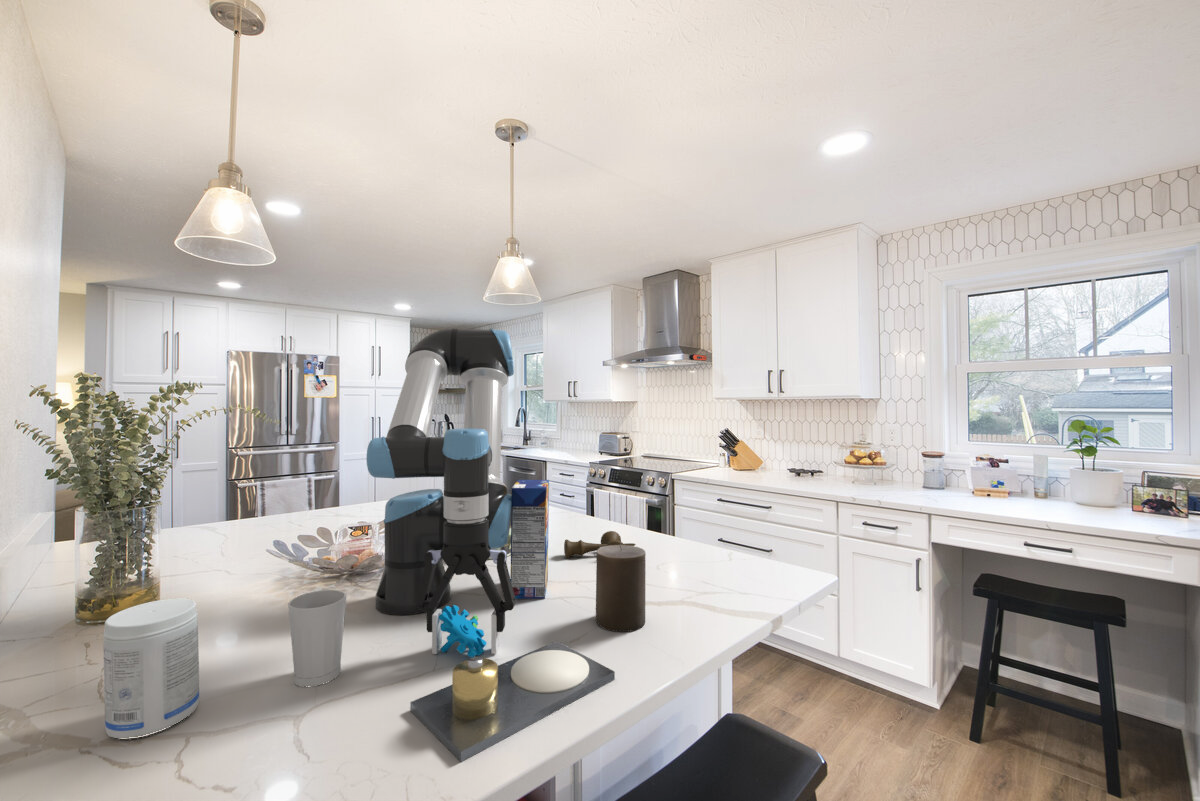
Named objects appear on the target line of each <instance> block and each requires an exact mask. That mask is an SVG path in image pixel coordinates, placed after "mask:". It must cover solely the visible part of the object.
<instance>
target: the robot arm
mask: <svg viewBox="0 0 1200 801" xmlns="http://www.w3.org/2000/svg"><path fill="white" fill-rule="evenodd" d="M510 337H511V336H510V335H509V333H508V332H507V331H505V330H500V329H493V328H489V329H476V328H475V329H474V328H473V329H469V328H443V329H438V330H436V331H434V332H431V333H429V334H428V335H426V336H424V337H423V338H421V339H420V340H419V341H418V342H417V343H416V344H415V345H414V346H413V348H411V350H410V351H409V353H408V355H407V358H406V360H405V364H404V368H405V369H404V370H405V372H406V376H405V379H404V382H403V385H402V388H401V390H400V391H401V392H400V393H399V397H398V400H397V404H396V407H395V410H394V413H393V415H392V417H391V418H392V419H391V422H390V425H389V428H388V431H387V433H386V436H381V437H374V438H372V439H371V440H370V441H369V443H368V444H367V445H368V446H367V448H366V458H365V460H366V467H367V471H368V473H369V475H370V476H371V477H373V478H375V479H376V478H379V479H393V480H395V479H404V478H405V479H406V478H409V479H410V478H414V479H415V478H443V491H442V489H440V488H427V489H421V490H420V489H419V490H414V491H408V492H405V493H402V494H401V493H400V494H398V495H395V496H393V497H391V498H389V499H388V500H387V502H386V504H385V506H384V507H385V508H384V510H385V511H384V519H383V524H384V568H383V572H382V574H381V577H380V578H381V579H380V581H379V584H378V587H377V590H376V593H375V609H376V610H377V611H379V612H381V613H383V614H388V615H396V616H402V615H403V616H404V615H414V614H421V613H425V614H426V631H427V633H431V638H432V639H431V645H432V646H431V654H432V655H437V654H439V651H441V648H442V647H443V643H442V640H443V639H442V637H443V631H442V630H441V627H440V626H441V624H442V623H443V621H441V620H440V619H439V616H440V615H441V614H442V613H443V611H442V609H443V608H440V607H442V606H444V605H445V604H447V603H448V602H449V601H450V600H451V597H452V596H451V591H452V589H451V581H452V580H453V577H454V575H455V576H462V575H468V576H474V575H475V578H477V580H478V581H479V583H480V585H481V586H482V589H483V590H484V592H485V594H486V596H487V598H488V599H489V601H490V603H491V605H492V608H493V609H494V610H493V612H492V613H491V619H490V620H491V621H490V622H491V626H490V628H491V629H490V630H491V632H490V633H491V635H490V636H491V637H490V638H491V646H490V647H491V650H490V651H491V655H496V654H497V653H498V649H499V647H500V633H503V631H504V629H505V627H506V612H508V611H512V610H514V608H515V605H516V602H517V599H515V596H514V592H513V588H512V583H511V574H510V571H509V567H508V563H507V560H508V558H507V550H506V549H502V550H501V551H498V550H491V549H496V548H501V547H503V546H505V544H506V543H507V540H508V536H509V530H510V523H511V505H512V493H508V486H507V485H506V484H505V483H504V482H503V481H502V479H501V458H502V456H501V454H502V452H501V451H502V450H501V448H502V389H503V387H505V386H506V385H507V384H508V382H509V377H512V376H513V375H514V373H515V370H514V369H515V368H514V359H513V351H512V341H511V338H510ZM447 376H459V380H460V382H461V383H462V384H463V386H464V387H465V398H464V401H465V402H464V419H463V420H464V422H463V423H464V424H463V428H452V429H451V428H450V429H447V430H446V431H445V432H444V435H443V436H437V437H436V436H434V437H431V436H430V437H429V434H430V430H431V427H432V426H431V425H432V421H433V418H434V413H435V408H436V404H437V398H438V394H439V390H440V386H441V383H442V381H444V380H445V378H446V377H447ZM489 557H491V558H492V559H491V560H492V561H493V564H495V565H496V571H497V575H498V580H499V583H500V587H501V590H502V594H501V593H500V591H499V589H498V588H497V585H496V583H495V582H494V580H493V578H492V576H491V574H490V570H489V568H488V567H487V564H486V562H487V561H488V560H489V559H488V558H489ZM443 562H444V563H445V564H446V566H447V568H446V569H445V566H444V563H443ZM502 596H503V597H502ZM503 598H504V599H503Z"/></svg>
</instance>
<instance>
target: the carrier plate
mask: <svg viewBox="0 0 1200 801" xmlns="http://www.w3.org/2000/svg"><path fill="white" fill-rule="evenodd" d="M546 650H561V651H568V652H572V653H575V654H577V655H579V656H581V657H582V658H584V659H585V660H586V661H587V663H588V665H589V674H588V676H587V678H586V679H585V680H584V681H583V682H582V683H581V684H579V685H578V686H576V687H574V688H571V689H569V690H565V691H561V692H555V693H538V692H532V691H528V690H525V689H523V688H521V687H519V686H517V685H516V684H515V683H514V682H513V680H512V678H511V669H512V667H513V665H514V664H515V663H516V662H517V661H518V660H519V659H521V658H522V657H524V656H526V655H529V654H532V653H535V652H539V651H546ZM615 674H616V673H615V671H614V670H613V669H612V668H608V667H606V666H605V665H604V664H602V663H599V662H597V661H596V660H594V659H592V658H590V657H588V656H587V655H584V654H582V653H580V652H578V651H577V650H574V649H573V648H571V647H569V646H567V645H565V644H563V643H562V642H560V641H558V640H556V641H554V642H551V643H549V644H546V645H544V646H542V647H540V648H537V649H535V650H532V651H529V652H528V653H525V654H522V655H520V656H517V657H516V658H513V659H511V660H508V661H506V662H503V663H501V664H497V662H496V661H494V660H493V659H489V658H486V657H481V656H474V657H472V658H471V657H469V659H467V660H464V661H461V662H459V663H458V664H457V665H455V666H454V667H453V670H452V680H451V681H452V684H451V685H448V686H446V687H443V688H441V689H439V690H436V691H434V692H432V693H429V694H427V695H424V696H421V697H419V698H417V699H414V700H412V701H410V702H409V703H410V712H411V713H412V714H413V715H414V717H415V718H417V720H419V721H420V722H421V723H422V724H423V726H425V727H426V728H427V729H428V731H430V732H431V733H432V734H433V735H434V736H435V737H436V738H437V739H438V741H439V742H441V744H442V745H443V746H444V747H445V748H446V749H447V750H448V751H449V752H450V753H451V755H453V756H454V757H455V758H456V759H457V760H458V761H459V762H460V763H463V762H464V761H466V760H467V759H470V758H471V757H473V756H475V755H476V754H480V753H481V752H482V751H485V750H486V749H489V748H491V747H492V746H495V745H496V744H497V743H500V742H501V741H503V740H505V739H506V738H509V737H510V736H513V735H514V734H516V733H518V732H519V731H521V730H523V729H525V728H527V727H529V726H531V725H533V724H534V723H537V722H538V721H540V720H542V719H544V718H545V717H548V716H549V715H552V714H553V713H555V712H557V711H558V710H560V709H562V708H564V707H567V706H568V705H570V704H571V703H574V702H576V701H577V700H579V699H581V698H583V697H585V696H587V695H588V694H591V693H592V692H593V691H595V690H597V689H600V688H601V687H603V686H605V685H608V684H609V683H611V682H612V681H615V679H616V678H615Z"/></svg>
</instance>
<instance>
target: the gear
mask: <svg viewBox="0 0 1200 801" xmlns="http://www.w3.org/2000/svg"><path fill="white" fill-rule="evenodd" d="M441 609H442V614H441V615H440V616H439V619H440V620H441V621H442V624H441V626H440V627H441V630H442V633H445V632H446V633H449V634H448V635H447V637H446V640H447V641H446V643H444V644H443V645H442V647H441V648H440V651H441V652H442V654H444V653H446V652H447V651H448V650H449V649H450V648H451V647H452V646H453V645H454V644H456V643H459V645H457V647H456V650H457V652H459V654H461V655H462V654H463V653H465V652H466V650H467V648H468V651H467V653H466V654H467V657H469V658H472V657H476V656H477V657H480V656H481V655H482V654H483V653H484V652H485V649H484V647H486V646H487V641H486V640H485V639H484V638H483V637H484V636H485V633H484V630H483V629H482V628H481V629H480V628H478V626H479V622H478V620H479V617H478V615H476V614H474V615H473V616H472V617H471V618H470V619H467V618H468V616H470V613H469V611H468V610H466V609H465V608H464V609H463V610H462V611H461V612H460V614H459V611H460V607H459V606H458V605H455V604H453V605H452V606H451V607H450V606H449V605H446V606H444V607H443V608H441Z"/></svg>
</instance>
